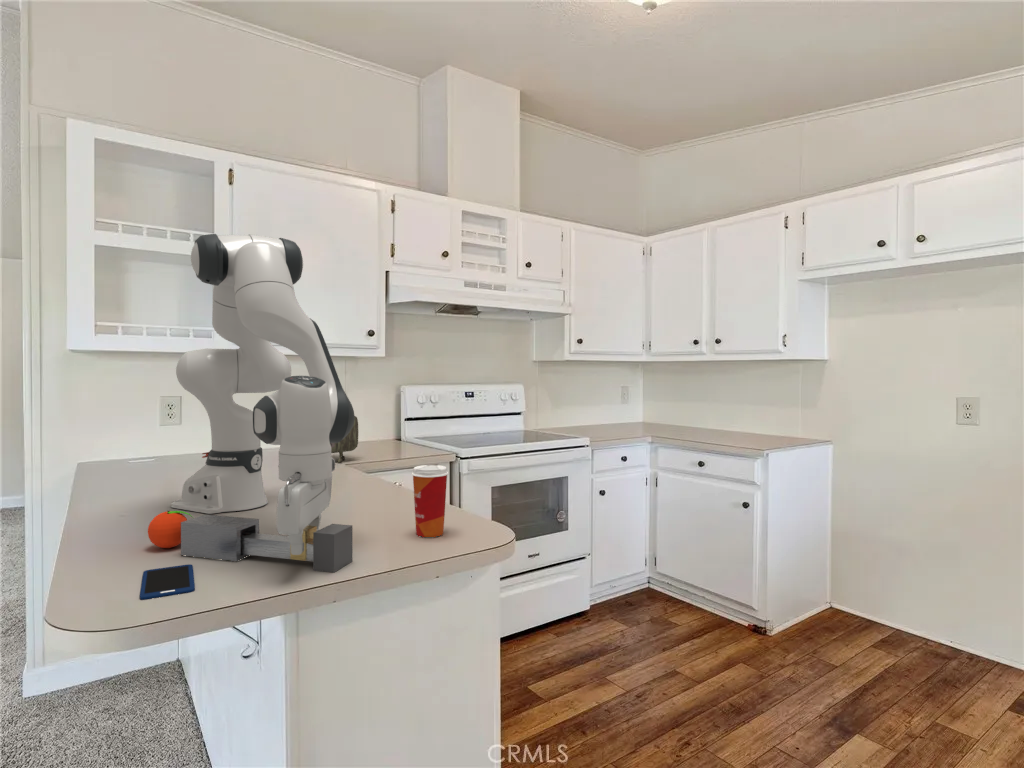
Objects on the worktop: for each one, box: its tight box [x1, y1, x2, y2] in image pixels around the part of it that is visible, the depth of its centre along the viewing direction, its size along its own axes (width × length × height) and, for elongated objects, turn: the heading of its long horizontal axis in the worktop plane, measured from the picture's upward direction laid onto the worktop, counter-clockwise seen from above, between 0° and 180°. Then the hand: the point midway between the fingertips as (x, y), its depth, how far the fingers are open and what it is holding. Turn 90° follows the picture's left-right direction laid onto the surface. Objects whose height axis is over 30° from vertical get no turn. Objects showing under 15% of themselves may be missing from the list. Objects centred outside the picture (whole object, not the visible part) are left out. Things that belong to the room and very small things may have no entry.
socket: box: [312, 523, 353, 573], centre depth 103 cm, size 4×6×6 cm, turn 165°
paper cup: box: [410, 464, 449, 538], centre depth 123 cm, size 8×8×14 cm
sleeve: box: [180, 514, 260, 562], centre depth 109 cm, size 12×6×6 cm, turn 75°
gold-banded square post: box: [240, 525, 317, 562], centre depth 106 cm, size 19×3×5 cm, turn 75°
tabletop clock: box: [330, 415, 359, 464], centre depth 218 cm, size 14×9×25 cm, turn 49°
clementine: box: [147, 510, 193, 549], centre depth 114 cm, size 8×7×7 cm
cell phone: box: [139, 563, 196, 601], centre depth 95 cm, size 7×14×1 cm, turn 30°
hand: (305, 545), depth 105 cm, fingers open, 8 cm apart
